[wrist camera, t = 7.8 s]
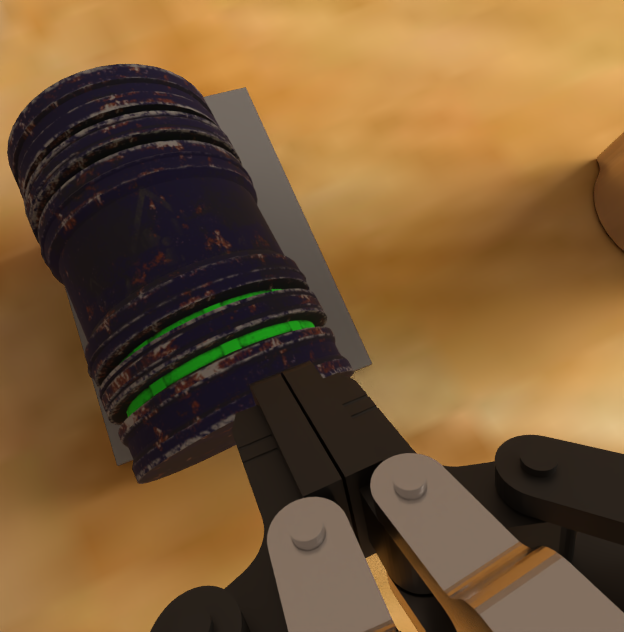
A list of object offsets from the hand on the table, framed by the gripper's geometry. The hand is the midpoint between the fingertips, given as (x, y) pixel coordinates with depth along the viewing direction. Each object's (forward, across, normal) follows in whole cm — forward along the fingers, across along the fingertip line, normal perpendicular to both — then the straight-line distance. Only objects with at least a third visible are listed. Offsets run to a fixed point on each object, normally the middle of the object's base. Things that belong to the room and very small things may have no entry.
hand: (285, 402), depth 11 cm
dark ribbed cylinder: (+7, +1, +6) cm, 9 cm away
